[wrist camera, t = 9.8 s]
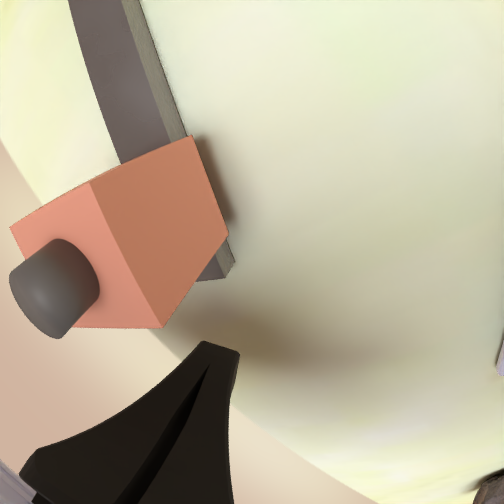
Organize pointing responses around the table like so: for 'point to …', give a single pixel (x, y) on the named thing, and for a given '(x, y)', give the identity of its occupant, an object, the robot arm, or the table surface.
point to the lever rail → (132, 88)
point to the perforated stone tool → (491, 492)
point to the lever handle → (119, 245)
